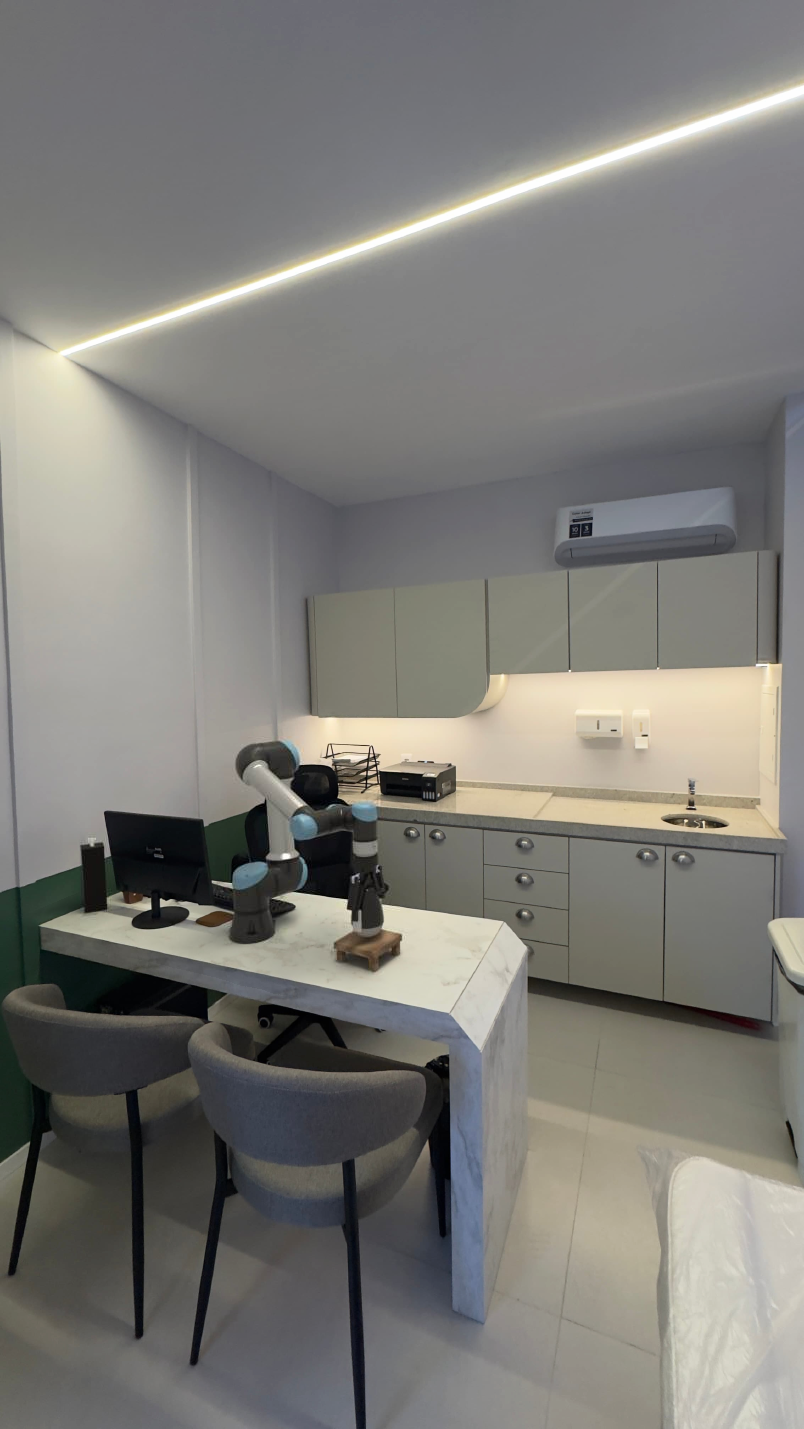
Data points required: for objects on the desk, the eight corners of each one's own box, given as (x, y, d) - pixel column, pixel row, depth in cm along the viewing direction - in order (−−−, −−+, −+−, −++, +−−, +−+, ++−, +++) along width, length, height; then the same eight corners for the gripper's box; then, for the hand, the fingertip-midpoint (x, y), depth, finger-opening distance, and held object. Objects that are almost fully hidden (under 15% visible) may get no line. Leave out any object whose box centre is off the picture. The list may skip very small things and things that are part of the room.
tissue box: (107, 909, 234) (103, 837, 232) (84, 913, 230) (80, 841, 228) (106, 903, 241) (102, 833, 239) (83, 907, 237) (79, 836, 235)
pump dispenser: (380, 941, 180) (379, 891, 179) (347, 939, 182) (345, 889, 181) (388, 927, 190) (387, 880, 189) (356, 926, 192) (354, 878, 191)
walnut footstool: (334, 961, 184) (333, 942, 184) (363, 943, 197) (362, 924, 197) (375, 973, 176) (374, 952, 176) (402, 952, 189) (402, 934, 189)
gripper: (353, 865, 173) (355, 941, 175) (396, 845, 192) (397, 914, 194) (332, 861, 177) (335, 935, 179) (376, 843, 196) (378, 910, 198)
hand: (367, 924), depth 186 cm, fingers closed on pump dispenser, 10 cm apart
